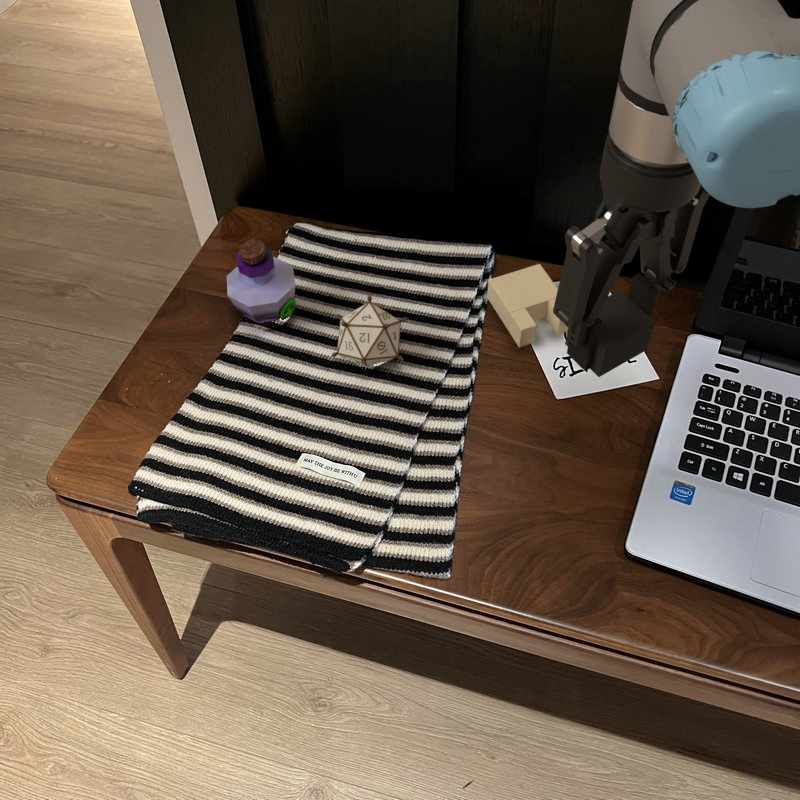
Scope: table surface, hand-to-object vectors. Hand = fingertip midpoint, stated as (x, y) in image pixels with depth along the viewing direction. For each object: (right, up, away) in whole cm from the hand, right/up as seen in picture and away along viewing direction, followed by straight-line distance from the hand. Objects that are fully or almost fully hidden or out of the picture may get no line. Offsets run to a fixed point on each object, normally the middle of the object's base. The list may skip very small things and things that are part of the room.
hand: (606, 345), depth 75 cm
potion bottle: (-36, +5, +23) cm, 43 cm away
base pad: (-4, +5, +21) cm, 22 cm away
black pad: (-1, +1, +1) cm, 1 cm away
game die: (-23, -1, +18) cm, 29 cm away
